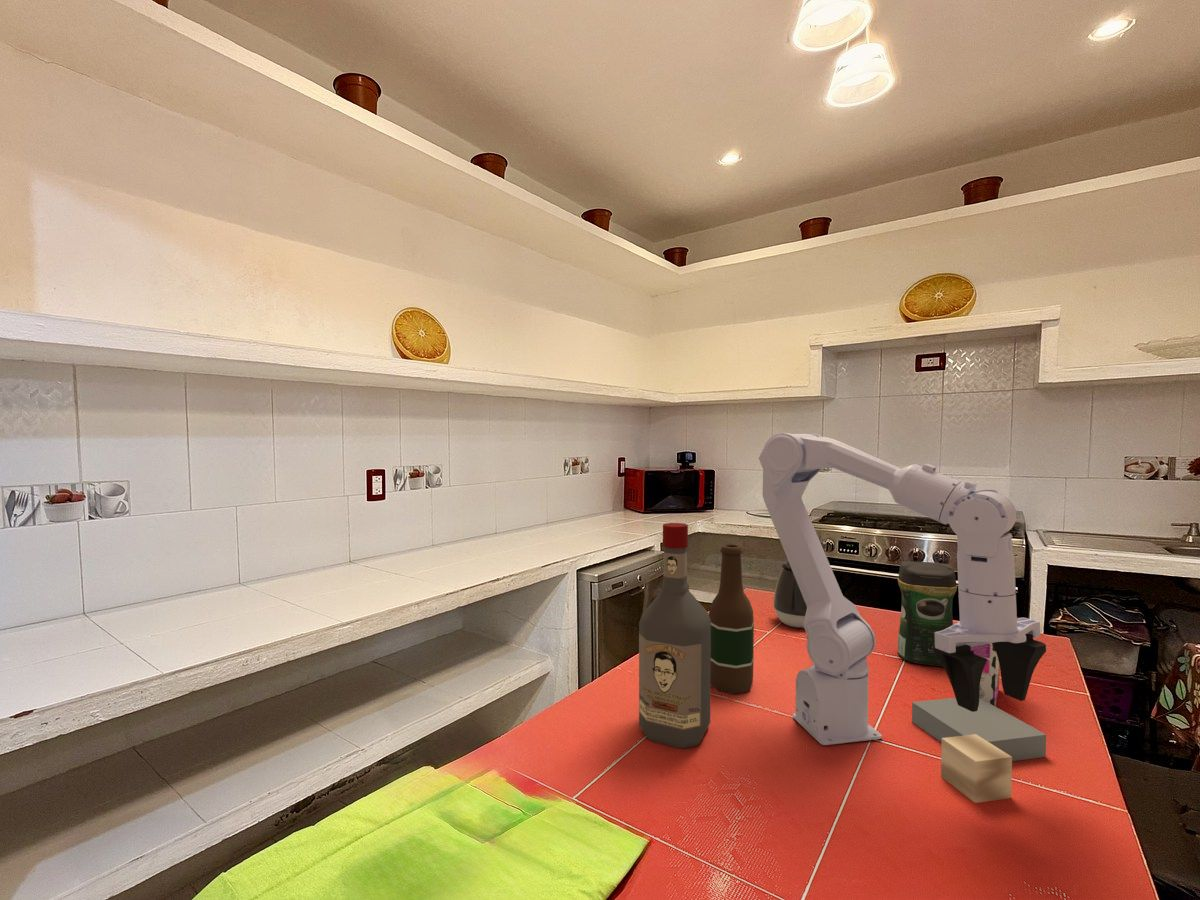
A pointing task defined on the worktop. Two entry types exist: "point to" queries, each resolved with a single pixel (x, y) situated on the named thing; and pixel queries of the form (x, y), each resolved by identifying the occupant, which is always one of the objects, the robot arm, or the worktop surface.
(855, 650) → the robot arm
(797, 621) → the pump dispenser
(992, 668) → the candy bar box
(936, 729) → the slate pedestal
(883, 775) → the worktop surface
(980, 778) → the birch cube
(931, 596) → the coffee jar
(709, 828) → the worktop surface
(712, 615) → the beer bottle
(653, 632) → the liquor
